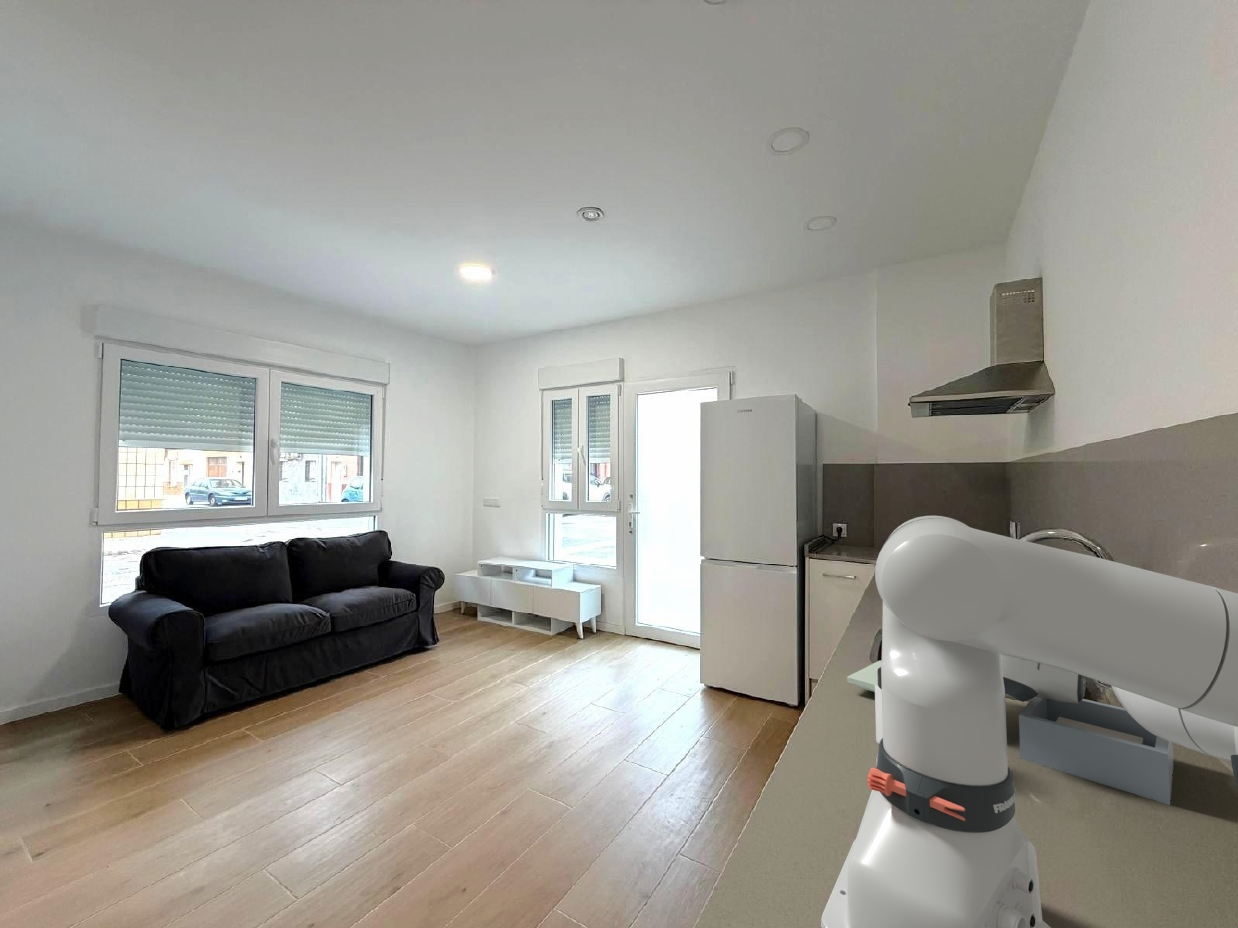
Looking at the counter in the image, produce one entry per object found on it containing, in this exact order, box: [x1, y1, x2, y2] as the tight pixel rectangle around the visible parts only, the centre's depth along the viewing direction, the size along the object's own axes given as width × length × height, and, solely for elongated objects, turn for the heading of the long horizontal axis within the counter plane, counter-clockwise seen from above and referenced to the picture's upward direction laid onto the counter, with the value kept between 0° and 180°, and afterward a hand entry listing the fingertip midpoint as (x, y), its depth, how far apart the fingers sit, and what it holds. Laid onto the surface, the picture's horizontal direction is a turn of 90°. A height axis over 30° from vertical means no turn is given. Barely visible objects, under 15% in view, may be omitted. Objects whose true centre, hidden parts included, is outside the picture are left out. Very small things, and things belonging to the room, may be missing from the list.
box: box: [1018, 697, 1174, 806], centre depth 80 cm, size 16×16×7 cm
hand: (898, 635), depth 106 cm, fingers closed on lid, 3 cm apart
